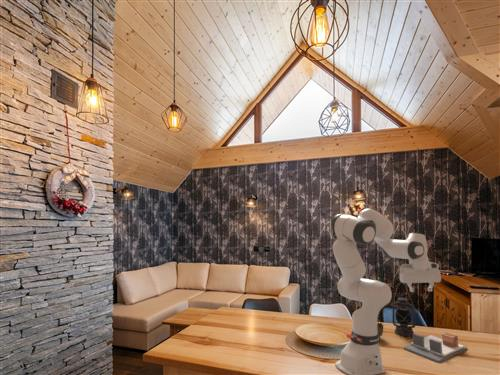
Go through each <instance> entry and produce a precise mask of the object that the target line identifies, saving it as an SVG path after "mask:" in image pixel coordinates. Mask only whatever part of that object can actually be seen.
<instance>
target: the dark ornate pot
mask: <svg viewBox="0 0 500 375" xmlns="http://www.w3.org/2000/svg"><path fill="white" fill-rule="evenodd" d="M377 330H378V334H379V340H380V339H381V336H383V334H384V333H383V332H384V324H383V323H382V322H380V323H379V321H377Z"/></svg>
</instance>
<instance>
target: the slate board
mask: <svg viewBox="0 0 500 375" xmlns="http://www.w3.org/2000/svg"><path fill="white" fill-rule="evenodd" d="M403 350H405V351H408V352H410V353H411V354H412V353H413V354H416V355H418V356H420V357H423V358H426V359H428V360H431V361H433V362H435V363H438V364H440V363H441V362H444V361H446V360H448V359H450V358H452V357H454V356H456V355H459V354H461V353H463V352H465V351H466V350H468V346H464V348H462V349H460V350H458V351H455V352H453V353H451V354H449V355H447V356H445V357H443V356H441V355H438V354H435V353H433V352H430V351H427V350H425V349H422V348H419V347H417V346H414V345H411V344H409V345H406V346H404V347H403Z"/></svg>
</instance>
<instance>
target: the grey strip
mask: <svg viewBox="0 0 500 375" xmlns="http://www.w3.org/2000/svg"><path fill="white" fill-rule="evenodd" d="M429 339H433V340H436V341H439V342H441V343H442V342H443V339H442V338H441V337H438V336H435V335H431V334H430V335H428V336H424V335H421V334H418V333H415V332H414V333H413V337H412V341H411V342H410V345H414V346H417V347H419V348H422V349H425V350H427V348H430V343H429Z"/></svg>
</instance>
